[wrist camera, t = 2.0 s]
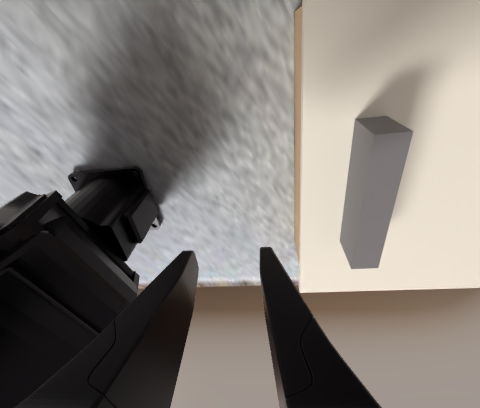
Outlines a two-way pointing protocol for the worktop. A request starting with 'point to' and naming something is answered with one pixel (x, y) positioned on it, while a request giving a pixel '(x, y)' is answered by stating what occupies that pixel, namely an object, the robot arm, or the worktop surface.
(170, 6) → the worktop surface
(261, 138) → the worktop surface
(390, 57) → the lid
